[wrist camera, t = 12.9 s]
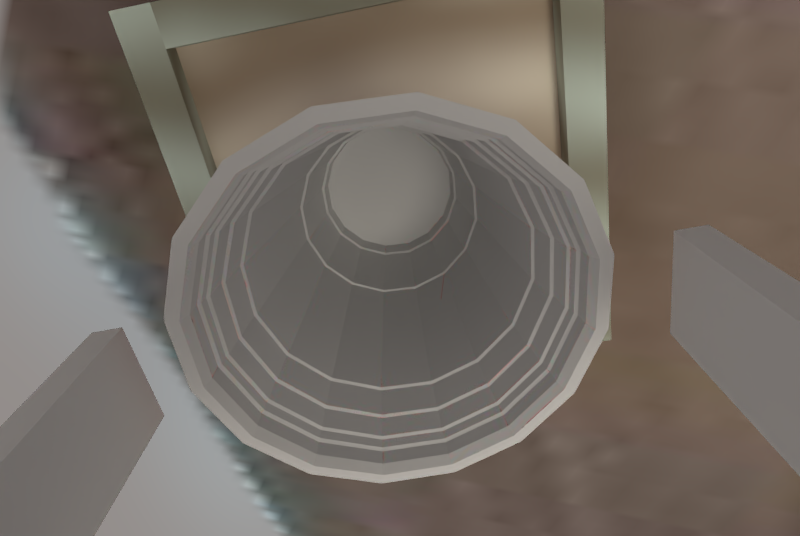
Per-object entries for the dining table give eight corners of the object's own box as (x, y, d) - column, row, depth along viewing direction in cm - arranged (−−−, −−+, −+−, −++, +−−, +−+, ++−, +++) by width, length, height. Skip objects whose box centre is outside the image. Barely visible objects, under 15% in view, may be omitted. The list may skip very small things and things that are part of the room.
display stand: (162, 14, 24) (108, 11, 19) (559, -71, 23) (602, -96, 18) (274, 344, 31) (254, 398, 27) (577, 292, 30) (611, 339, 26)
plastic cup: (441, 330, 26) (477, 545, 15) (236, 240, 24) (109, 417, 13) (564, 134, 22) (729, 237, 11) (331, 6, 20) (261, -18, 9)
